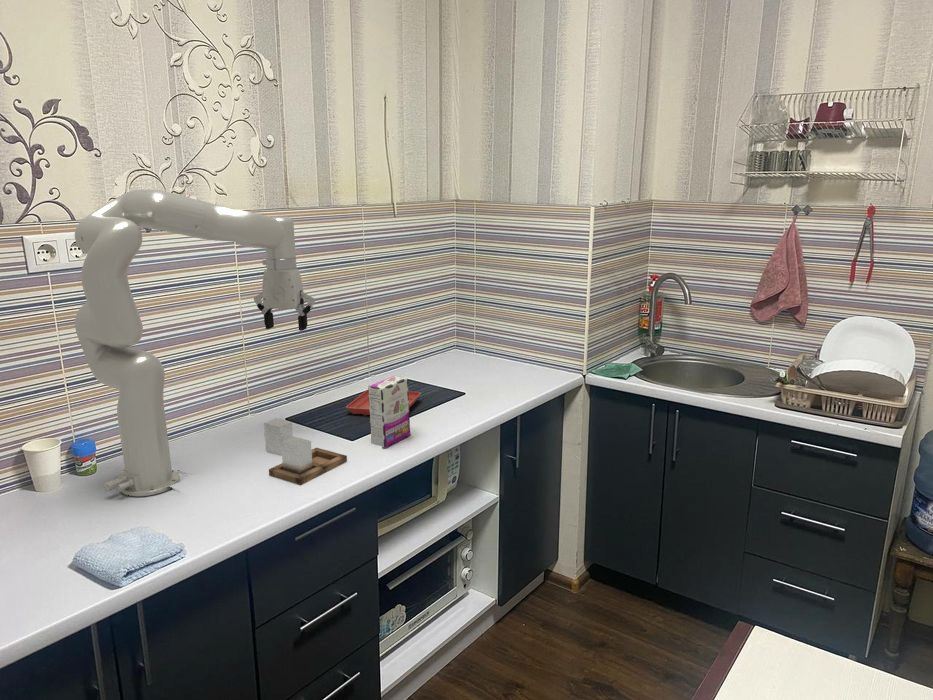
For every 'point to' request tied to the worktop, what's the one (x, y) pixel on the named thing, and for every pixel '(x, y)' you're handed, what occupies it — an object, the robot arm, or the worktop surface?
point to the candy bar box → (389, 411)
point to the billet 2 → (296, 455)
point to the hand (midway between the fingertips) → (286, 328)
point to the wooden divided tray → (321, 465)
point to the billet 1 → (277, 434)
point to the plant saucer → (362, 403)
